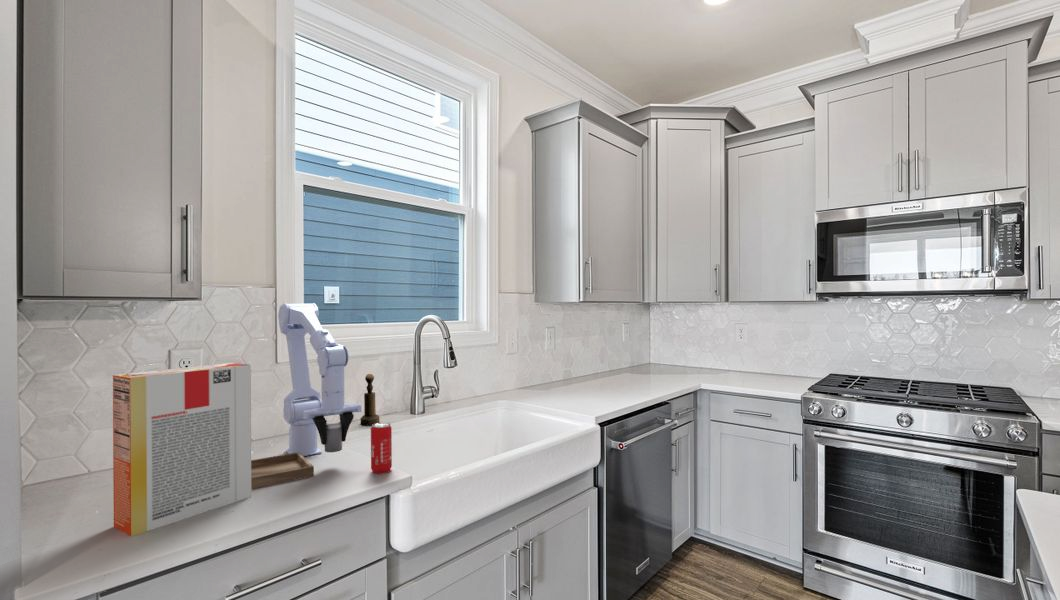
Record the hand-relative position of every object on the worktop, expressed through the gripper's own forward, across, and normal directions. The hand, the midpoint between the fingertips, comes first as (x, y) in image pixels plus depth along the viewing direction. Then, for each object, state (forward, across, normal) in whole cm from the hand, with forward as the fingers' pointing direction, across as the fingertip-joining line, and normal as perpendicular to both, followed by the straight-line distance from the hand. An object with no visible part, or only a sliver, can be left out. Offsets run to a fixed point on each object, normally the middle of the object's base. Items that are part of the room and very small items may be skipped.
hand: (333, 442), depth 136 cm
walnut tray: (+7, -14, +4) cm, 16 cm away
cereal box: (+7, -33, -10) cm, 35 cm away
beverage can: (+7, +9, -11) cm, 16 cm away
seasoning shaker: (+2, 0, 0) cm, 2 cm away
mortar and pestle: (+7, +25, +43) cm, 50 cm away
